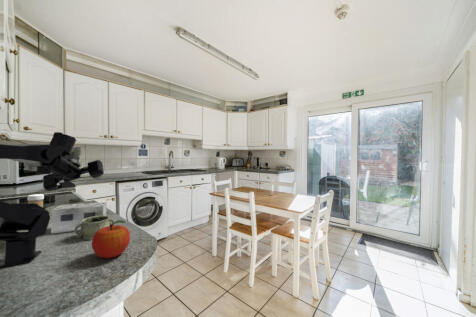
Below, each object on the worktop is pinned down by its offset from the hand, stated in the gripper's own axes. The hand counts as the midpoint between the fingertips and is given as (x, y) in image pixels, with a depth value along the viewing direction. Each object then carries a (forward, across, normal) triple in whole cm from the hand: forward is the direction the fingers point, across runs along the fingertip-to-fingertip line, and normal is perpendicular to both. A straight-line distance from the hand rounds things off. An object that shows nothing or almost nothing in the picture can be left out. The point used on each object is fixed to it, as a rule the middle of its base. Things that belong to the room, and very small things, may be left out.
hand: (87, 182), depth 79 cm
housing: (+8, +8, +15) cm, 19 cm away
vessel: (0, 0, +23) cm, 23 cm away
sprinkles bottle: (+9, +25, +8) cm, 27 cm away
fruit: (-14, -11, +35) cm, 39 cm away
